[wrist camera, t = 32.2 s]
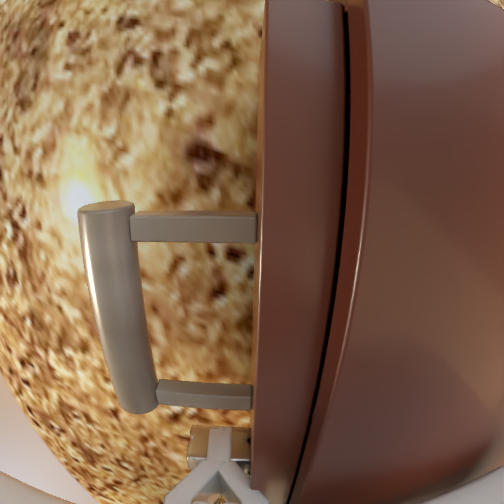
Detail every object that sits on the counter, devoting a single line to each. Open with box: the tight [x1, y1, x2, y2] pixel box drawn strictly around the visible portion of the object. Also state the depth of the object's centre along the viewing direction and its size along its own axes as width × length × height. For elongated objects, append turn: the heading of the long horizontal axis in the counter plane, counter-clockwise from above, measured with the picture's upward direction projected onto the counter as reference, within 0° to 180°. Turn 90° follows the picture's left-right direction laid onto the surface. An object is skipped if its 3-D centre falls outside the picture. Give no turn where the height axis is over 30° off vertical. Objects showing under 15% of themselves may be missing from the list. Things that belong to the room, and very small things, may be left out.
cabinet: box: [287, 0, 504, 504], centre depth 8 cm, size 15×15×8 cm
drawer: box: [77, 0, 351, 504], centre depth 8 cm, size 18×13×6 cm
